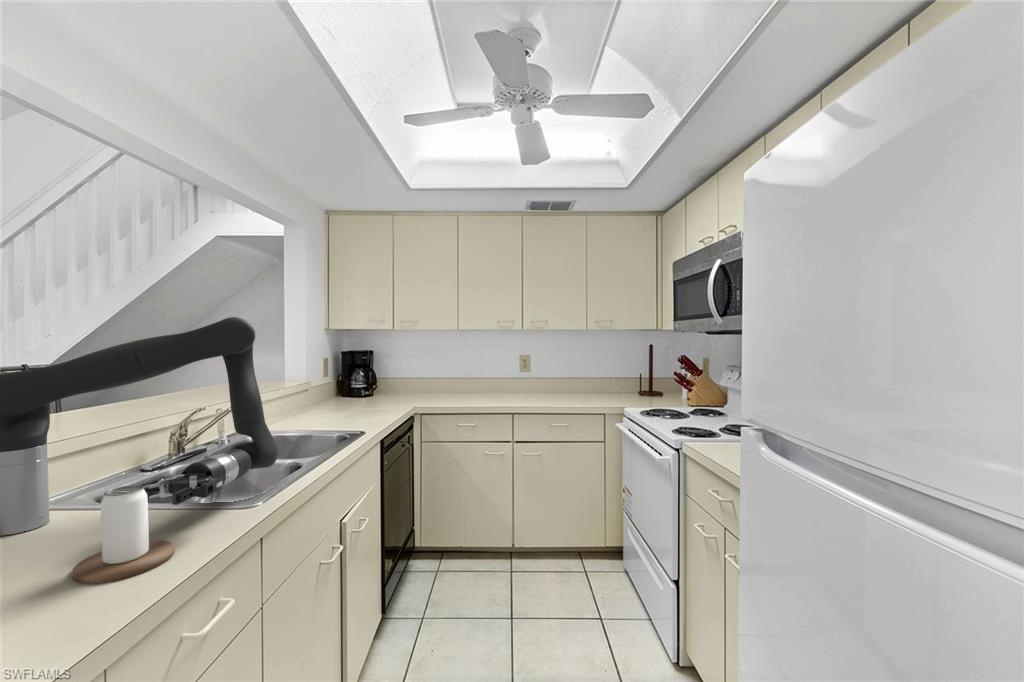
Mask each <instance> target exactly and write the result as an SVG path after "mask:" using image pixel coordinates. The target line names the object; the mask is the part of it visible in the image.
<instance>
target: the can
mask: <svg viewBox="0 0 1024 682" xmlns="http://www.w3.org/2000/svg"><path fill="white" fill-rule="evenodd" d="M148 500H149V499H147V493H146V492H145V490H144V486H142V485H140V484H131V485H124V486H123V485H122V486H118V487H115V488H111V489H108V490H106V491H105V492H103V497H102V499H101V501H100V528H101V529H100V533H101V534H100V535H101V551H102V560H103V562H105V563H106V564H110V565H115V564H122V563H127V562H130V561H134V560H136V559H138V558H140V557H142V556H144V555H145V554H146V553H147V552H148V550H149V540H150V536H149V535H150V534H149V532H150V531H149V504H148V503H149V502H148Z"/></svg>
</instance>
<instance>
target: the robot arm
mask: <svg viewBox="0 0 1024 682" xmlns="http://www.w3.org/2000/svg"><path fill="white" fill-rule="evenodd" d="M255 341H256V331H255V329H254V326H253V325H252V323H250V322H249V321H248V320H246V319H244V318H242V317H238V316H231V317H229V316H228V317H226V318H224V319H221V320H218V321H216V322H214V323H210V324H208V325H205V326H203V327H199V328H196V329H193V330H189V331H185V332H181V333H174V334H168V335H167V334H166V335H159V336H153V337H147V338H142V339H137V340H133V341H128V342H125V343H122V344H117V345H113V346H110V347H106V348H102V349H99V350H97V351H93V352H90V353H88V354H84V355H82V356H79V357H76V358H73V359H70V360H67V361H64V362H60V363H57V364H56V363H55V364H53V365H48V366H44V367H38V368H37V367H36V368H31V369H26V370H16V371H9V372H1V373H0V536H1V537H2V536H8V535H9V536H10V535H15V534H19V533H24V531H25V532H28V531H32V530H35V529H38V528H40V527H43V526H45V525H46V524H48V523H49V522H50V519H51V518H50V488H49V485H50V484H49V459H48V432H49V430H50V423H51V403H53V402H57V401H59V400H63V399H67V398H69V397H73V396H76V395H77V396H78V395H82V394H86V393H87V394H88V393H94V392H99V391H103V390H108V389H114V388H118V387H122V386H126V385H131V384H135V383H139V382H141V381H145V380H148V379H152V378H155V377H158V376H161V375H165V374H167V373H170V372H173V371H175V370H177V369H180V368H183V367H185V366H187V365H190V364H192V363H196V362H198V361H203V360H208V359H212V358H213V359H214V358H217V357H222V358H223V361H224V366H225V370H226V372H227V373H226V374H227V381H228V390H229V391H228V392H229V403H230V410H231V415H232V421H233V426H234V427H233V428H234V431H235V432H236V433H237V434H238V435H240V436H241V435H242V436H247V437H249V438H251V440H252V441H245V442H242V443H241V442H240V443H238V444H236V445H234V446H233V447H231V448H230V449H229V450H227V451H225V452H223V453H220V454H219V453H218V454H214V455H211V456H208V457H206V458H203V459H201V460H198V461H195V462H193V463H191V464H189V465H187V466H186V467H185V468H184V470H183V471H182V472H181V474H177V475H175V476H174V477H169V478H167V476H165V475H164V476H160V477H157V478H154V479H151V480H149V481H146V482H143V483H140V484H139V485H142V486H144V490H145V492H146V493H147V499H148V500H149V499H152V498H156V497H159V498H162V499H163V498H168V497H171V502H172V505H173V506H177V505H181V504H182V503H184V502H186V501H188V500H196V499H197V498H201V499H206V498H208V497H210V496H212V495H213V494H215V493H217V492H219V491H221V490H223V487H225V486H228V485H229V484H230V483H231V482H234V481H235V480H237V479H239V478H241V477H243V476H245V475H246V474H247V473H248V472H249V471H250V470H256V469H257V470H258V469H264V468H265V469H266V468H270V467H272V466H273V465H274V464H275V463H276V461H277V458H278V455H279V451H278V446H277V443H276V441H275V439H274V437H273V435H272V432H271V431H270V430H269V427H268V425H267V423H266V420H265V418H266V417H265V414H264V413H265V412H264V408H263V403H262V397H261V392H260V388H259V385H258V381H257V377H256V373H255V365H254V343H255ZM166 489H167V492H165V490H166Z"/></svg>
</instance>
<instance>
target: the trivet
mask: <svg viewBox="0 0 1024 682" xmlns="http://www.w3.org/2000/svg"><path fill="white" fill-rule="evenodd" d="M173 554H174V555H175V544H174V543H173V542H171V541H168V540H164V539H149V550H148V552H147V553H146V554H145V555H144V556H142V557H140V558H138V559H136V560H134V561H130V562H127V563H122V564H115V565H110V564H106V563H105V562H103V560H102V550H101V551H99V552H96V553H94V554H92V555H89V556H88V557H86V558H84V559H82V560H80V561H79V562H78V563H76V564H75V565H74V567H73V568H72V570H71V571H72V574H71V575H72V579H74V580H75V581H74V580H73V581H74V582H76V581H77V582H76V583H79V582H82V583H81V584H85V583H95V584H100V583H99V582H105V583H109V582H108V581H112V582H116V581H115V580H117V581H120V579H121V580H124V579H129V578H132V577H136V576H138V575H141V574H144V573H146V572H149V571H151V570H154V569H156V568H158V567H160V566H161V565H163V564H165V563H166V562H168V561H169V560H170V559H171V558H172V557H173V556H174V555H173Z"/></svg>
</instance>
